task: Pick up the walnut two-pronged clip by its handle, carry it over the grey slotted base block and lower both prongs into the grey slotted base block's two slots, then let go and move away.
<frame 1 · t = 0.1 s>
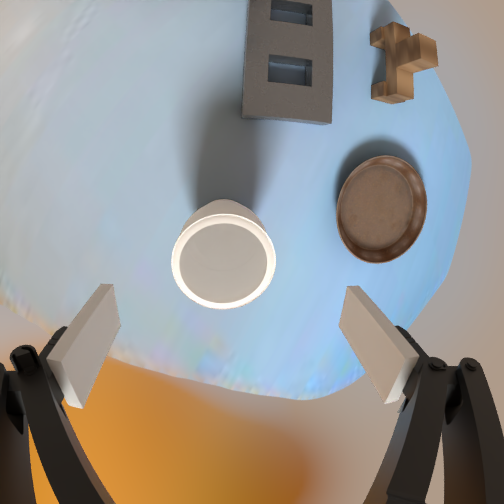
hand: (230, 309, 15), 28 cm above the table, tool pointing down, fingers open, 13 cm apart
jar: (223, 226, 43), on the table
grey slotted base block: (286, 47, 34), on the table
clip: (381, 67, 35), on the table
plant saucer: (377, 207, 44), on the table
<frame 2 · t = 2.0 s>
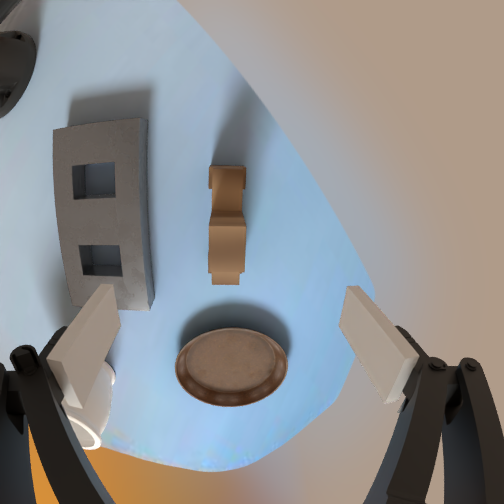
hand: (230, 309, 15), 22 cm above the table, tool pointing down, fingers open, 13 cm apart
jar: (95, 369, 43), on the table
grey slotted base block: (106, 215, 34), on the table
clip: (225, 214, 36), on the table
plant saucer: (230, 360, 45), on the table
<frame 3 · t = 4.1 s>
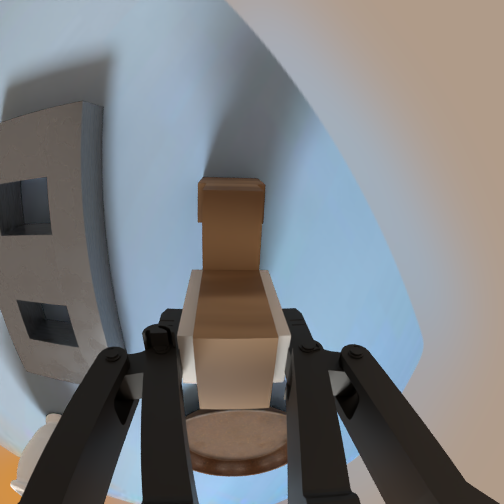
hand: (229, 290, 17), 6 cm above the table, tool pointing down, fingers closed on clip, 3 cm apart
jar: (70, 428, 30), on the table
grey slotted base block: (52, 254, 21), on the table
clip: (228, 257, 22), on the table, touching gripper
plant saucer: (236, 431, 31), on the table
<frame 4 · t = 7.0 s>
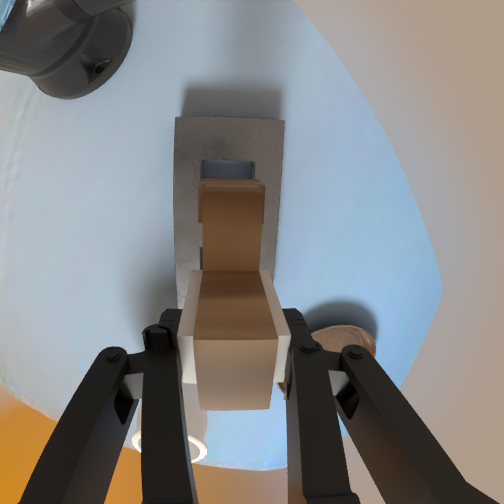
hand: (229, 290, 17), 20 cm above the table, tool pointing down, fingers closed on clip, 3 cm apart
jar: (178, 377, 45), on the table
grey slotted base block: (225, 215, 36), on the table
clip: (228, 258, 22), point 14 cm above the table, touching gripper
plant saucer: (323, 356, 46), on the table
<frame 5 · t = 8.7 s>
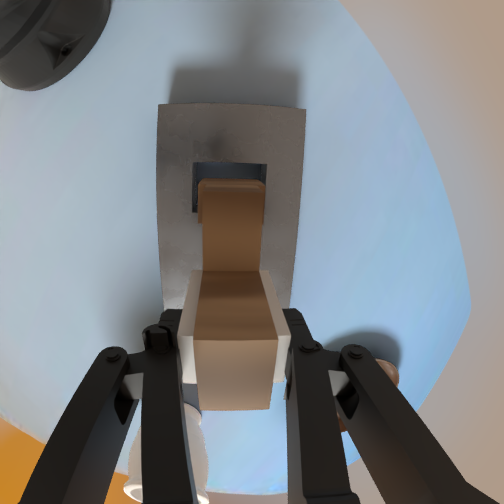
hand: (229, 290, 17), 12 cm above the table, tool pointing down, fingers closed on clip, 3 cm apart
jar: (173, 414, 37), on the table
grey slotted base block: (226, 234, 28), on the table
clip: (228, 258, 22), point 6 cm above the table, touching gripper
plant saucer: (339, 389, 38), on the table
when the fingers open (6 cm above the table, at t = 10.0 s): clip stays where it is, resting in grey slotted base block.
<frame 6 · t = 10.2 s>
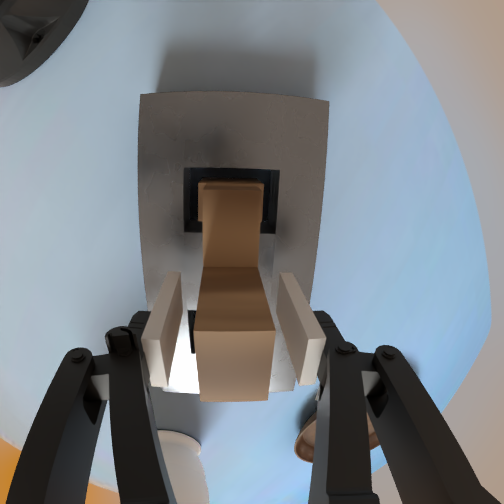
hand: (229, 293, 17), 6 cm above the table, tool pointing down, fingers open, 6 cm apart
jar: (171, 443, 32), on the table
grey slotted base block: (228, 255, 23), on the table
clip: (228, 255, 23), resting in grey slotted base block
plant saucer: (351, 416, 33), on the table
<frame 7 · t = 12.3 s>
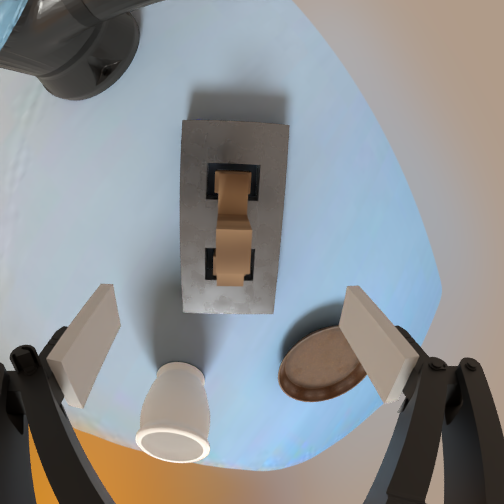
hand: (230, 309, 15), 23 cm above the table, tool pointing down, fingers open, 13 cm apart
jar: (180, 377, 45), on the table
grey slotted base block: (230, 217, 37), on the table
clip: (230, 218, 37), resting in grey slotted base block
plant saucer: (324, 357, 47), on the table
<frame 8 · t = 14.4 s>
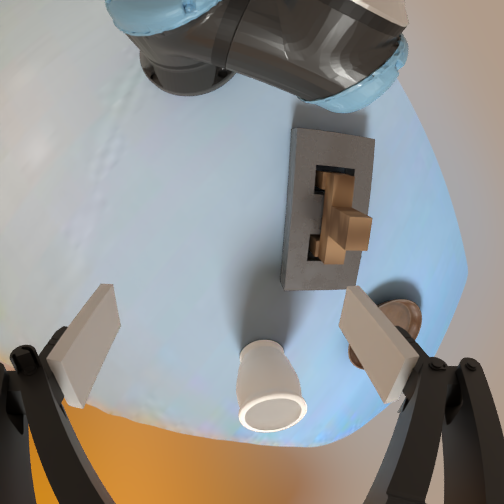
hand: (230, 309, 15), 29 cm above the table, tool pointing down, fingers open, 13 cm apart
jar: (261, 354, 52), on the table
grey slotted base block: (323, 210, 44), on the table
clip: (323, 210, 44), resting in grey slotted base block
plant saucer: (380, 329, 54), on the table
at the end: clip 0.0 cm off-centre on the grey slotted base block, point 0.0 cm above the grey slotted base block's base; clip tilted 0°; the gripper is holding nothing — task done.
